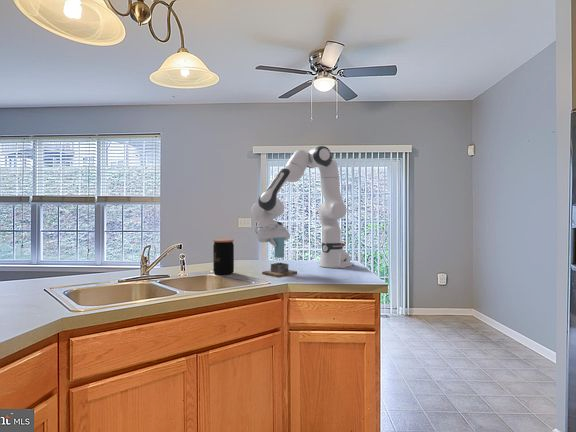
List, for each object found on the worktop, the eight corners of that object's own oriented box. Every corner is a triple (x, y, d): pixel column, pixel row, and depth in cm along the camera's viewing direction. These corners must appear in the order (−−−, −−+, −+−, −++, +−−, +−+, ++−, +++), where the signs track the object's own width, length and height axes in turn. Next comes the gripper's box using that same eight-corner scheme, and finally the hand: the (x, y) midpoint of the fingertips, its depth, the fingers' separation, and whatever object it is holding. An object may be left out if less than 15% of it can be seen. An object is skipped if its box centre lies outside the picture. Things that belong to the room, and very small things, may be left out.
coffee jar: (212, 272, 181) (212, 239, 180) (232, 271, 184) (232, 238, 183) (214, 276, 170) (214, 240, 170) (235, 274, 174) (235, 240, 173)
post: (279, 256, 178) (279, 238, 178) (284, 257, 176) (284, 238, 176) (274, 257, 176) (274, 238, 176) (278, 258, 173) (279, 238, 173)
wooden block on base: (281, 270, 185) (281, 261, 185) (297, 273, 176) (297, 263, 176) (262, 273, 176) (262, 264, 176) (277, 277, 167) (277, 266, 167)
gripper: (255, 223, 174) (267, 243, 167) (284, 222, 188) (296, 241, 181) (250, 231, 177) (261, 251, 170) (279, 230, 191) (291, 248, 184)
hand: (280, 246), depth 175 cm, fingers closed on post, 4 cm apart
